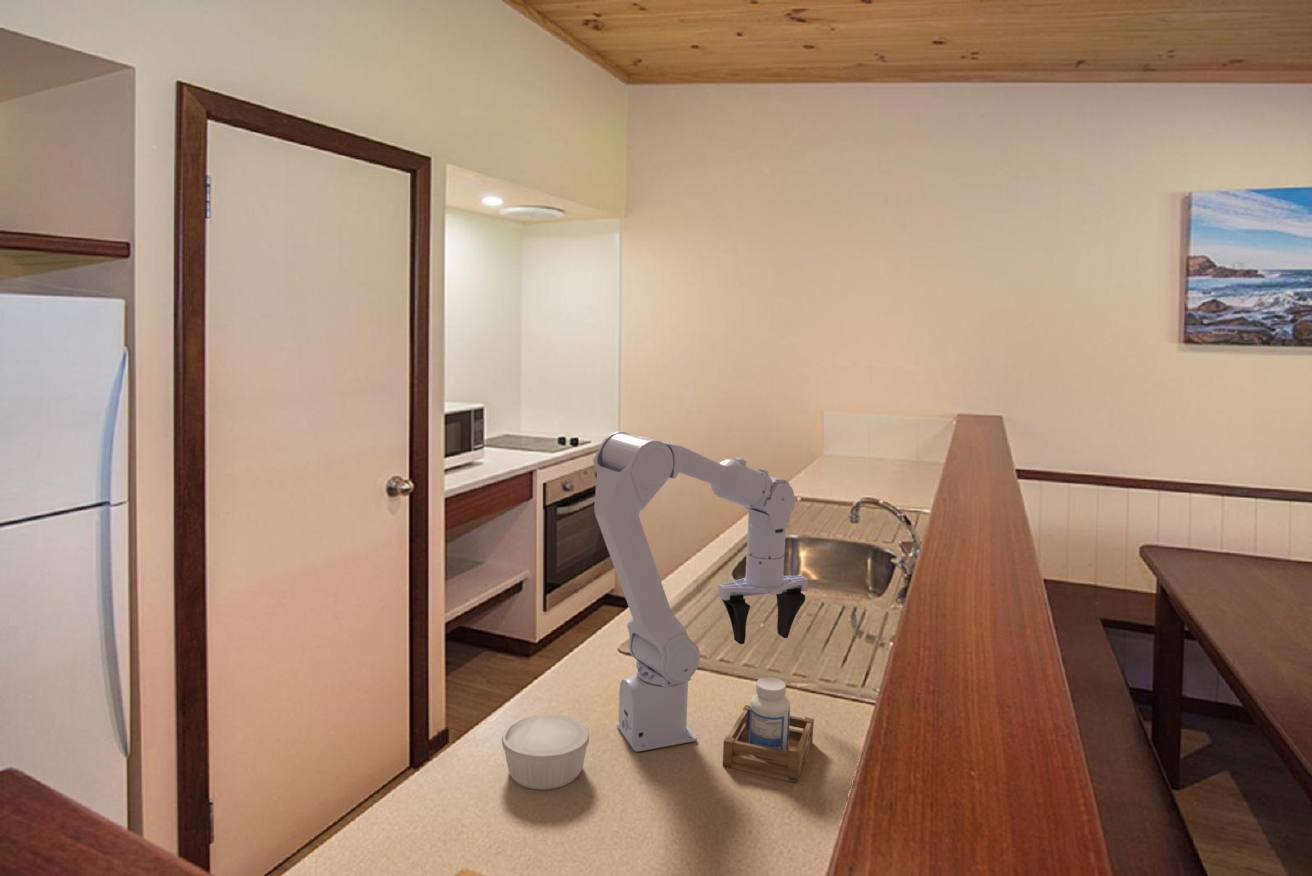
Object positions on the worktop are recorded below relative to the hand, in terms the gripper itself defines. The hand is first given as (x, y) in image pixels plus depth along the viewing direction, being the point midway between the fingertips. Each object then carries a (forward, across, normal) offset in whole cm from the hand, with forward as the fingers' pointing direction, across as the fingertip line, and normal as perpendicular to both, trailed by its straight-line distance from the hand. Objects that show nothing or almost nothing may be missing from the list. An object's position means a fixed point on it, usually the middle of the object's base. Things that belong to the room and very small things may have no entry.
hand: (761, 638), depth 125 cm
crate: (+10, -6, -14) cm, 18 cm away
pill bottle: (+10, -6, -14) cm, 18 cm away
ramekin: (+11, -36, -8) cm, 38 cm away
